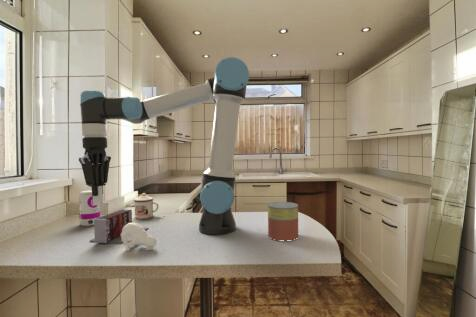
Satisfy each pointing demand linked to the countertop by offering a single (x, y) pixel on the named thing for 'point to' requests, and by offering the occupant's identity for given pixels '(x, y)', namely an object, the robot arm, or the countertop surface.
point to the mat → (116, 239)
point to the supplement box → (111, 225)
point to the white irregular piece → (136, 237)
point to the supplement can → (87, 208)
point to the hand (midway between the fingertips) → (98, 204)
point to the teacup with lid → (144, 207)
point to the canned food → (283, 220)
